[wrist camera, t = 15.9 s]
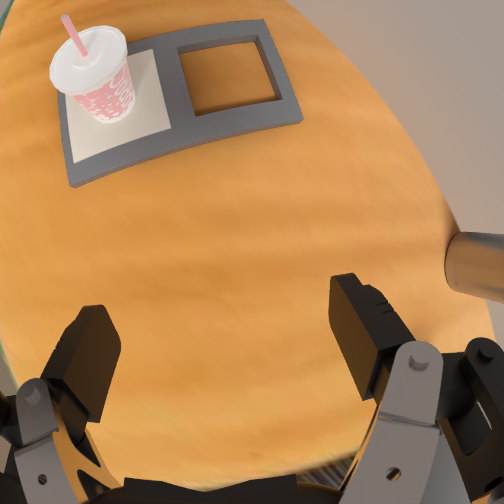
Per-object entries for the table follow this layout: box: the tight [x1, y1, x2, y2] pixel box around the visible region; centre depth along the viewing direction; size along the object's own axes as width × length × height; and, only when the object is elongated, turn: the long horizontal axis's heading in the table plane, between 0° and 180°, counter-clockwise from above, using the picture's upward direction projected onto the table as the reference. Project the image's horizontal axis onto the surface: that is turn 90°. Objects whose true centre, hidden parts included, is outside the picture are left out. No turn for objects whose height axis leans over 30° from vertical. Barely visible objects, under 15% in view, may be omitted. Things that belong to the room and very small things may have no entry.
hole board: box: [57, 19, 304, 188], centre depth 24 cm, size 24×14×2 cm, turn 107°
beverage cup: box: [50, 14, 135, 123], centre depth 16 cm, size 6×6×14 cm
